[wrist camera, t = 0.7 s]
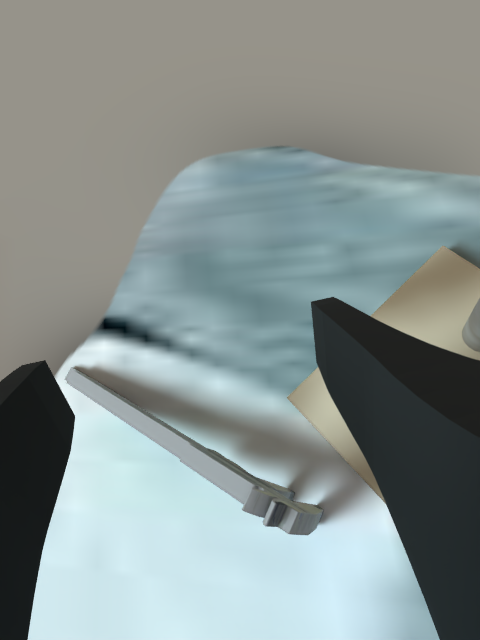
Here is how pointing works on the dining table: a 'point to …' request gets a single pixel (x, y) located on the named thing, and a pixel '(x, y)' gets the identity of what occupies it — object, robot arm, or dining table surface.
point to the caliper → (208, 463)
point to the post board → (415, 320)
